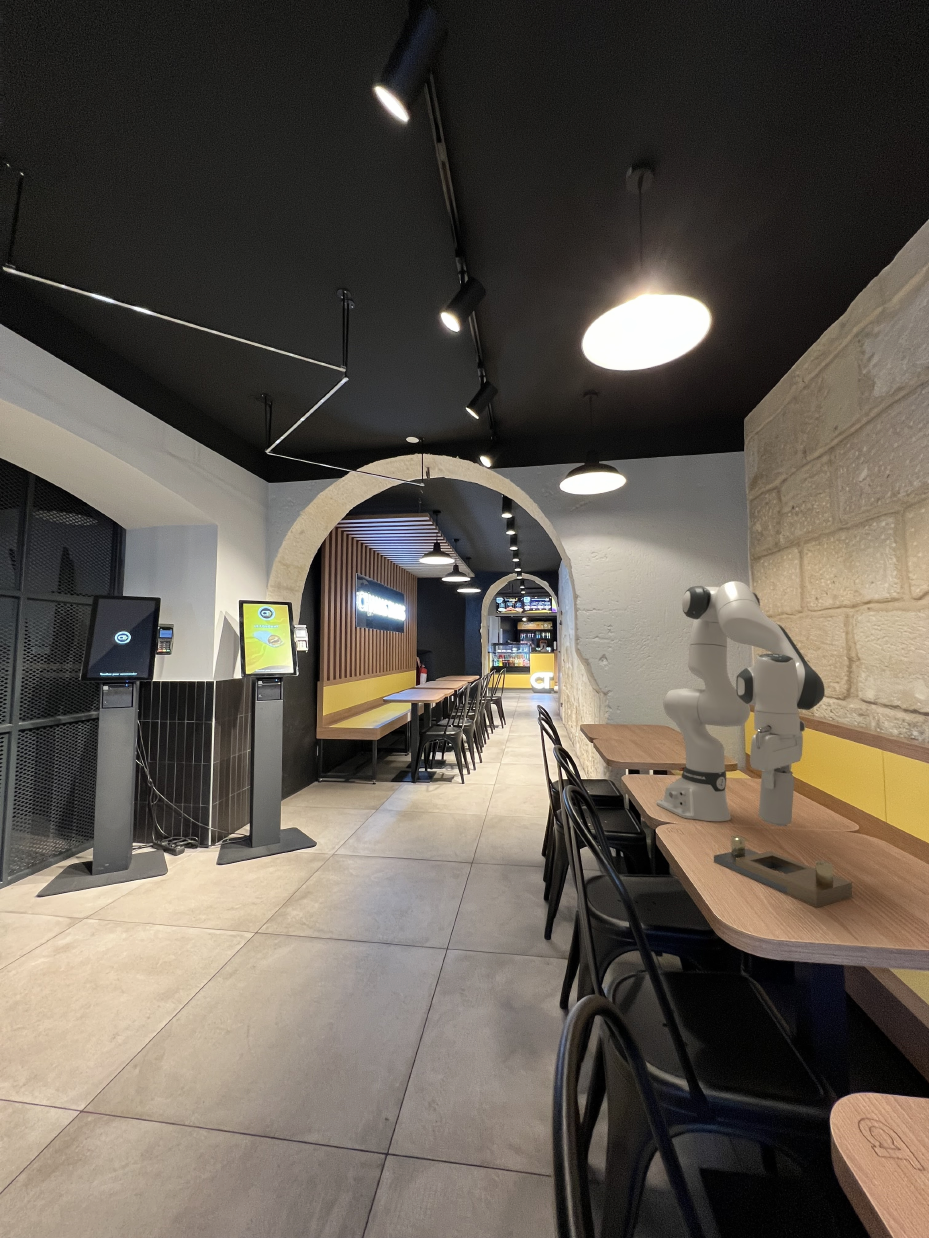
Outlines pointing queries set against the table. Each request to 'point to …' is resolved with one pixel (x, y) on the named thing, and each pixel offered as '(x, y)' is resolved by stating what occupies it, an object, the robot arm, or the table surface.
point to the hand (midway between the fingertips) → (776, 785)
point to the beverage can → (777, 799)
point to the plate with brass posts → (787, 874)
